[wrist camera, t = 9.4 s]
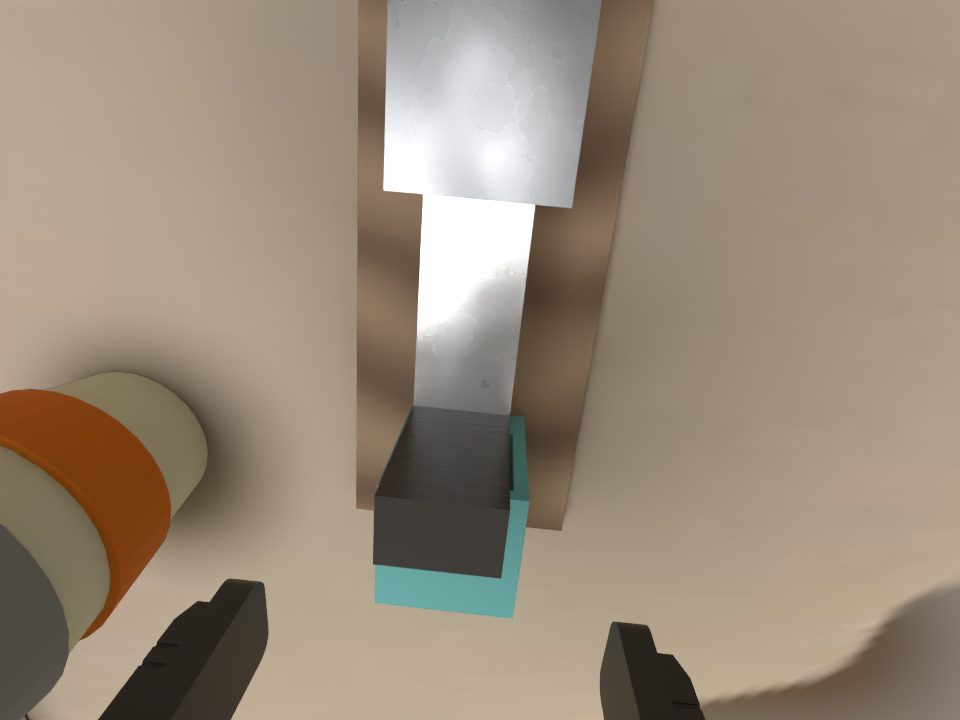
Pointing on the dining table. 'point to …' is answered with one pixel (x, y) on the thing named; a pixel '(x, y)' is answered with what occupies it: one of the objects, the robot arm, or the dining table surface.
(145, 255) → the dining table surface
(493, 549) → the metal sliding bolt
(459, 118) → the brushed metal block
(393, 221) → the base board
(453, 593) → the socket block
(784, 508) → the dining table surface
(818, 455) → the dining table surface
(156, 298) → the dining table surface
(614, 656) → the robot arm
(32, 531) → the reusable coffee cup
